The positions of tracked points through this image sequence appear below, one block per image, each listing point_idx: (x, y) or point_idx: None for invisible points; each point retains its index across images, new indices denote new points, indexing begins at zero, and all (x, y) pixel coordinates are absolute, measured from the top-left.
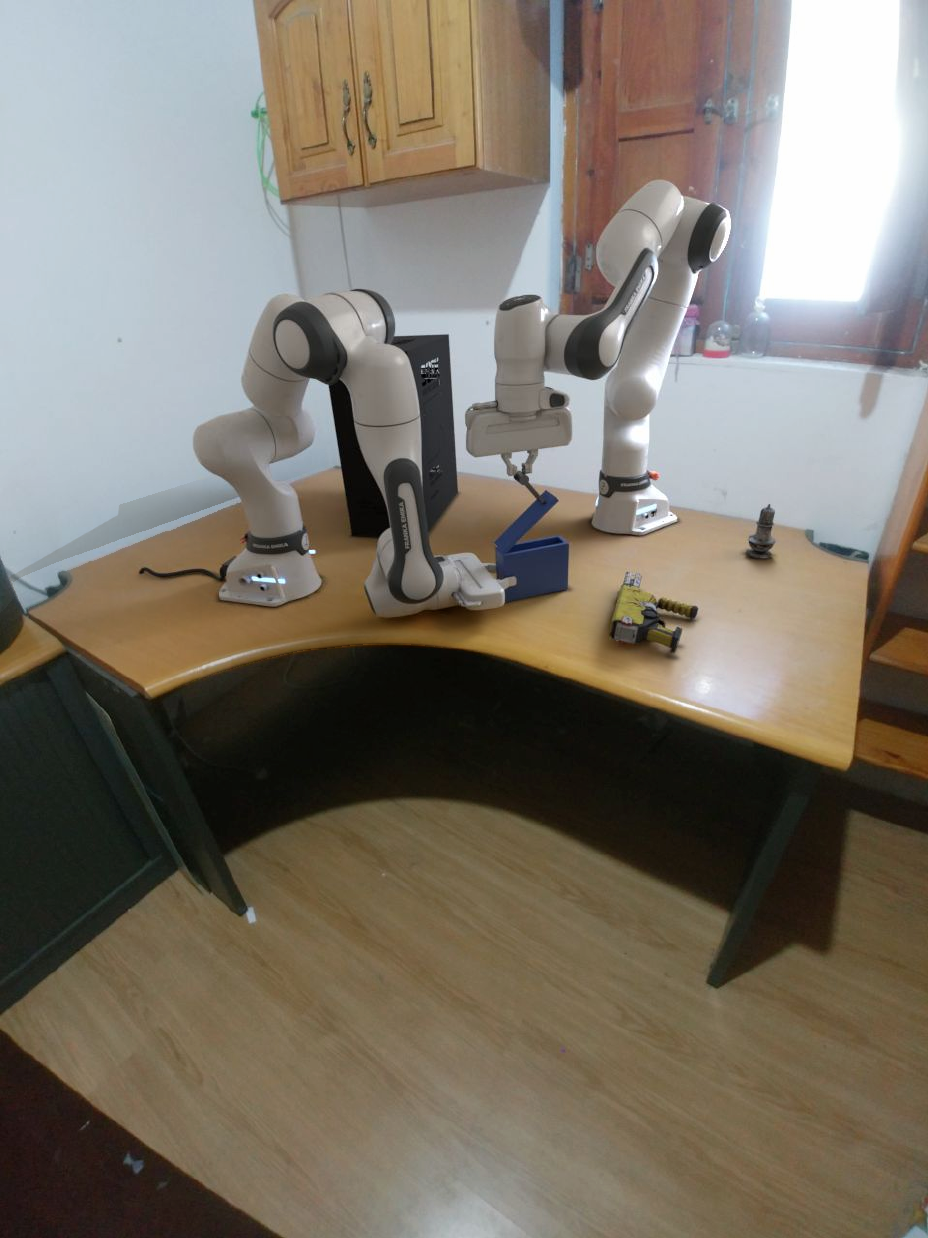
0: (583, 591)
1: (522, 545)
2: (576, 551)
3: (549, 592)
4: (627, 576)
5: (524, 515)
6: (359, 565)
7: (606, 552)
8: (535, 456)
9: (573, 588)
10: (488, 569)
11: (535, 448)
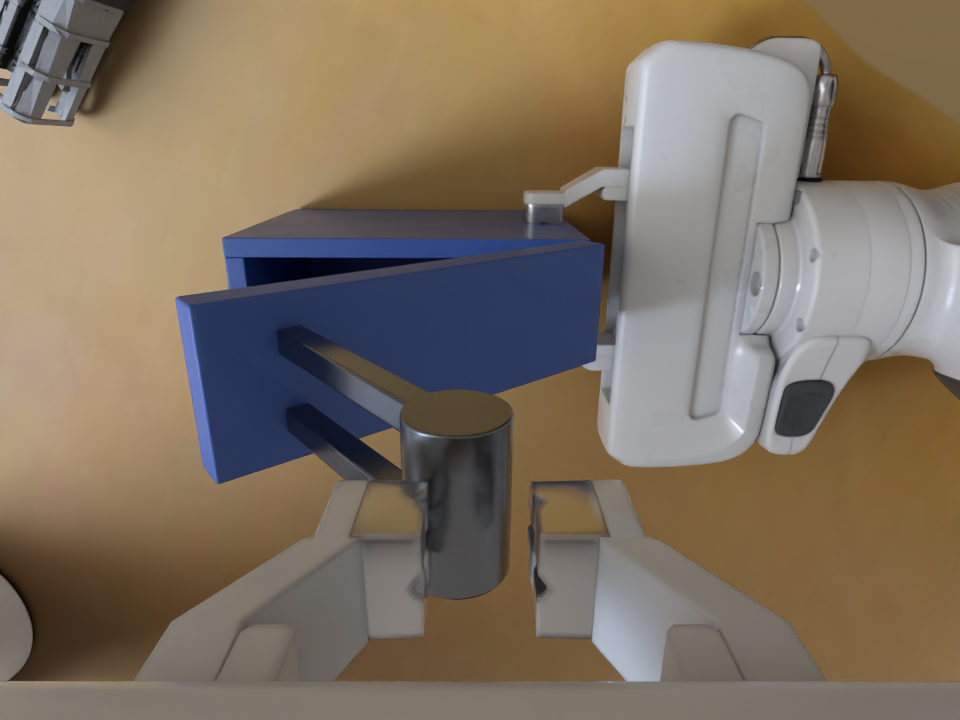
0: (242, 172)
1: None
2: (157, 478)
3: (371, 210)
4: (33, 69)
5: (428, 380)
6: (877, 640)
7: (50, 430)
8: (227, 603)
9: (271, 210)
10: None
11: (174, 687)
